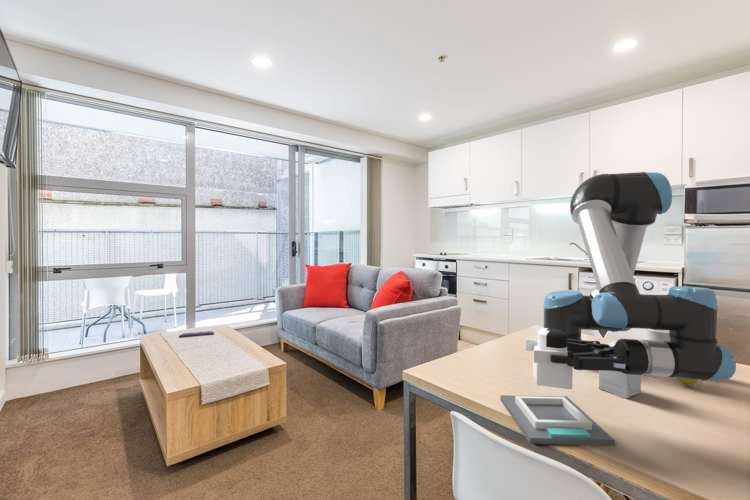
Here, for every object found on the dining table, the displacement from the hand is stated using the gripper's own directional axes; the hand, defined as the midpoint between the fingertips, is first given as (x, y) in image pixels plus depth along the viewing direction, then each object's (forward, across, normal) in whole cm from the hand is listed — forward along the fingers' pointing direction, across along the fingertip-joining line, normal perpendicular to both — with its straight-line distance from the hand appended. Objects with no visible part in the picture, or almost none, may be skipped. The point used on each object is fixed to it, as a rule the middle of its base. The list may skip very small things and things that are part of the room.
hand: (529, 349), depth 80 cm
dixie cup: (-54, +54, -16) cm, 78 cm away
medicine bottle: (-5, 0, -7) cm, 9 cm away
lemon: (-48, +28, -16) cm, 58 cm away
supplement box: (-28, +20, -16) cm, 38 cm away
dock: (-5, 0, -16) cm, 17 cm away
